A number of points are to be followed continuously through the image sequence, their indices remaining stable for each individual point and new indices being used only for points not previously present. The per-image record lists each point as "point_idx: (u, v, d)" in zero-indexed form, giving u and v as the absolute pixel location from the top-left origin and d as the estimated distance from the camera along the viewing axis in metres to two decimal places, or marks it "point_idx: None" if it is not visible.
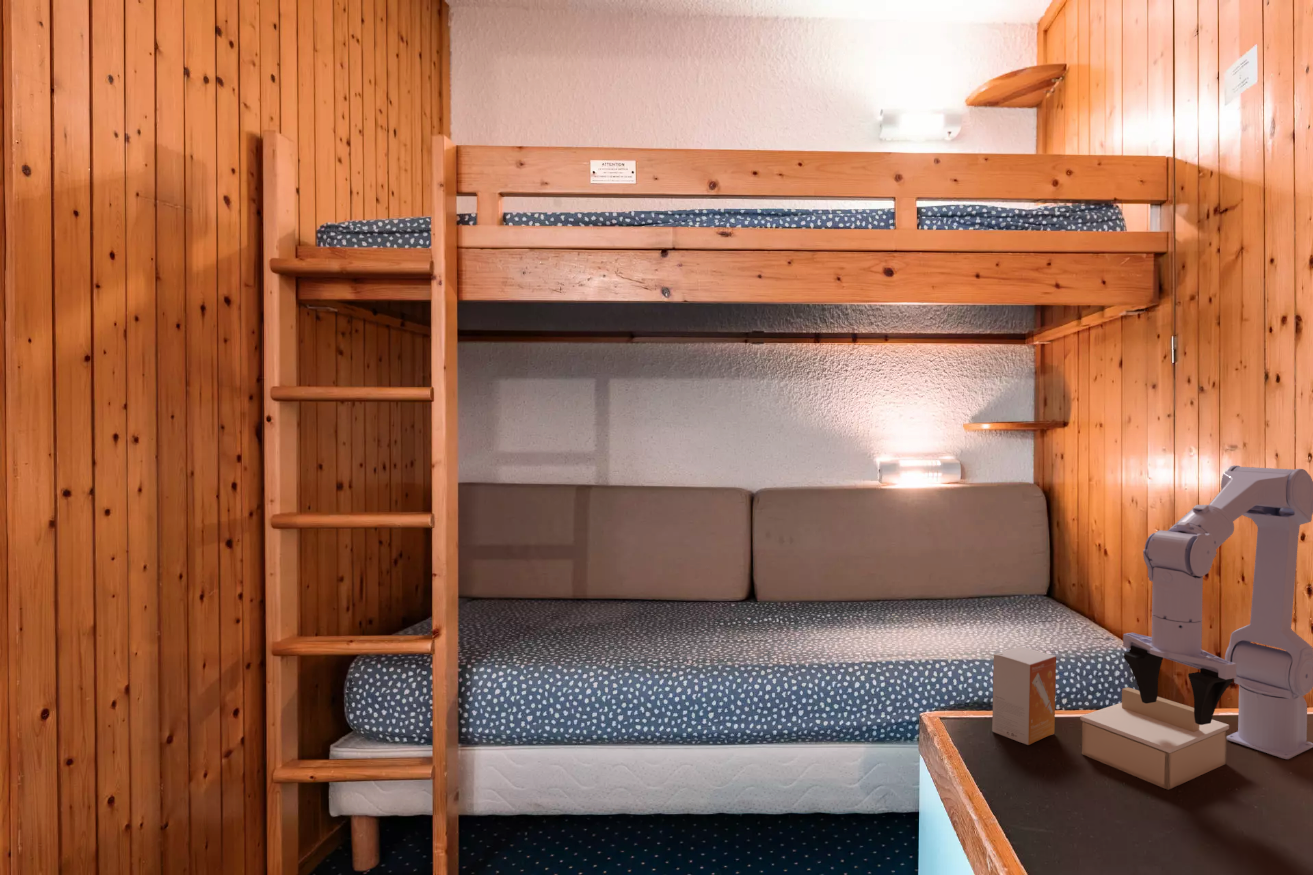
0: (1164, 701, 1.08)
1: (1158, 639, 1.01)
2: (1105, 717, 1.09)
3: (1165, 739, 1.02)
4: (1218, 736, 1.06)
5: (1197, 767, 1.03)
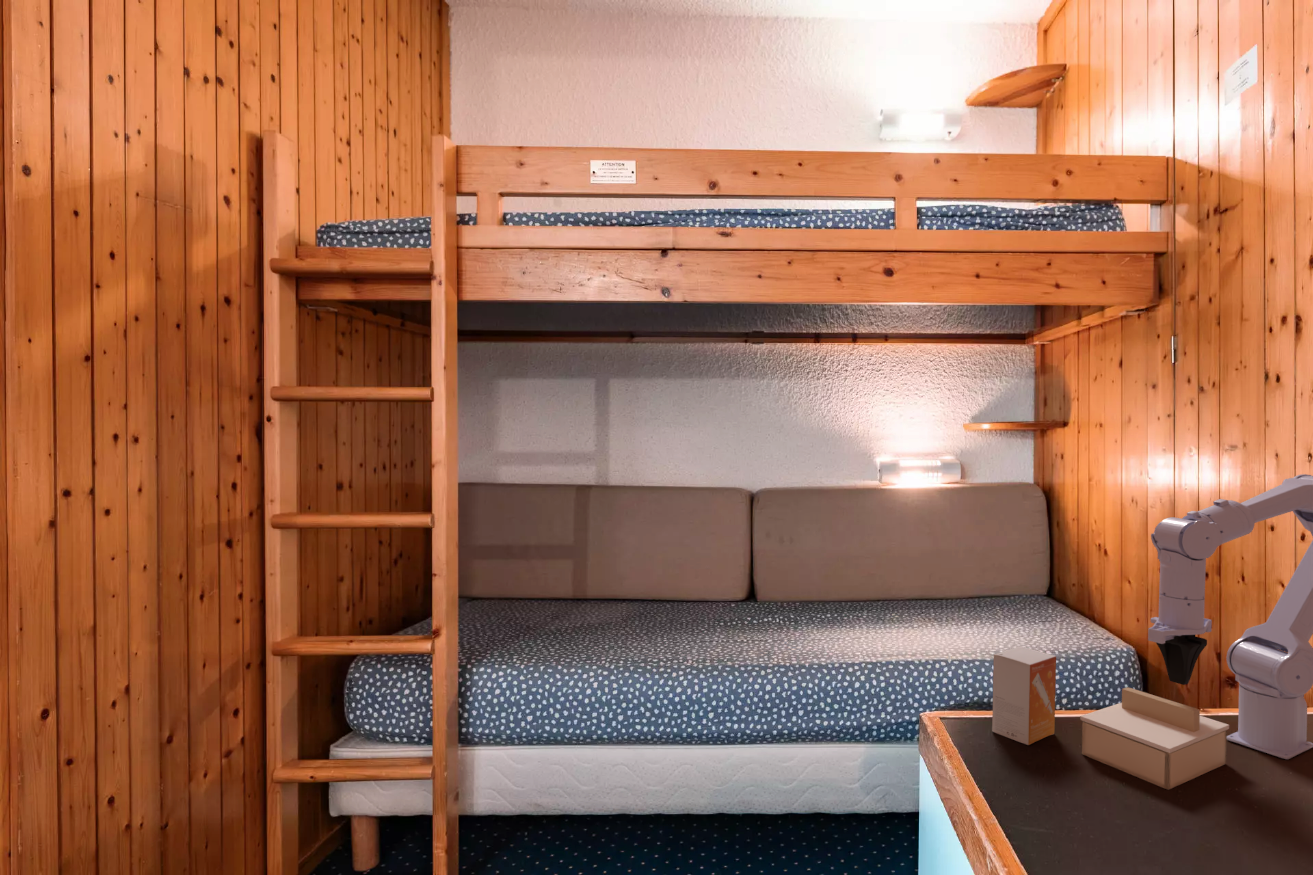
0: (1164, 701, 1.08)
1: None
2: (1105, 717, 1.09)
3: (1165, 739, 1.02)
4: (1218, 736, 1.06)
5: (1197, 767, 1.03)
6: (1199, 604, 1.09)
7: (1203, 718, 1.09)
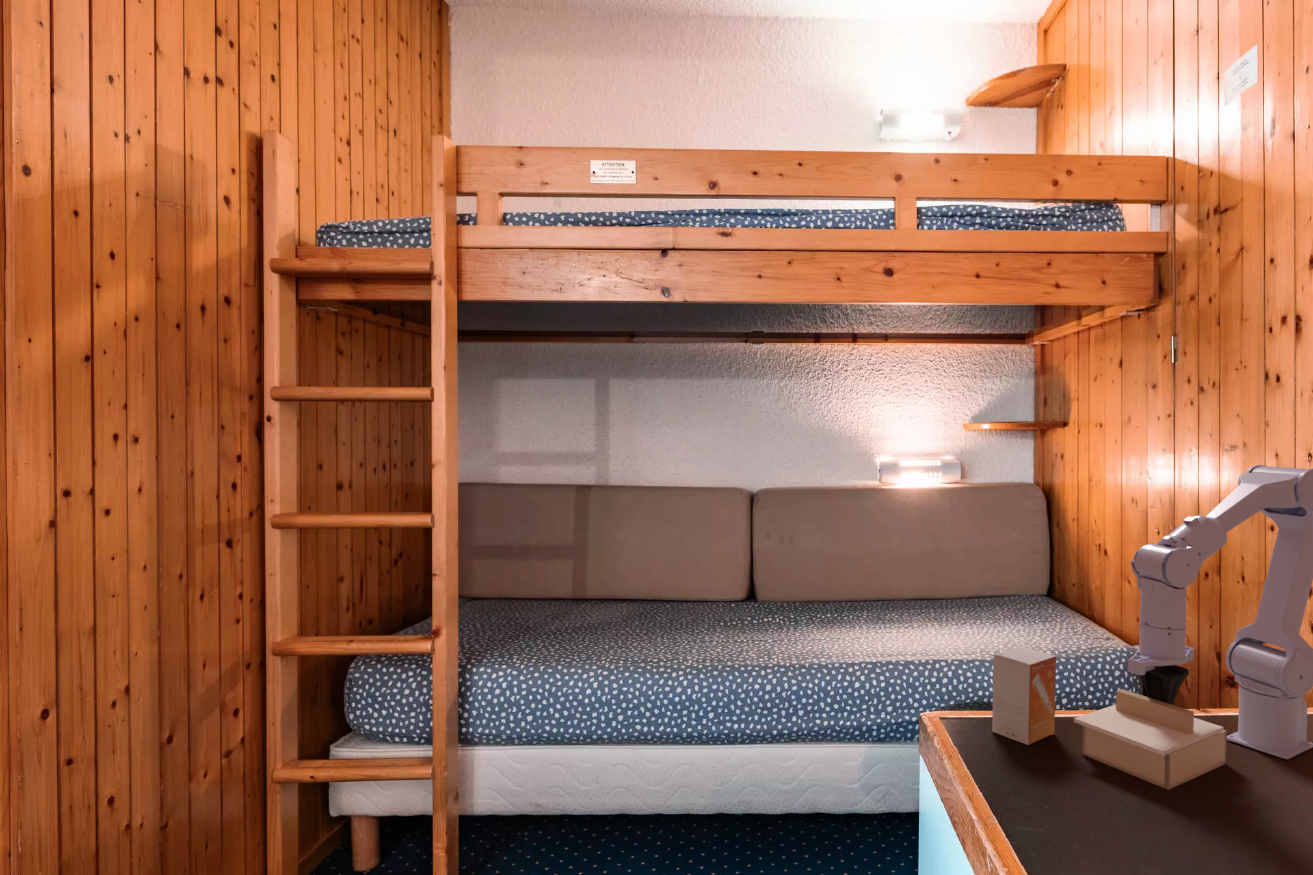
0: (1158, 703, 1.07)
1: None
2: (1098, 719, 1.09)
3: (1159, 741, 1.01)
4: (1218, 736, 1.06)
5: (1197, 767, 1.03)
6: (1180, 634, 1.06)
7: (1197, 720, 1.08)
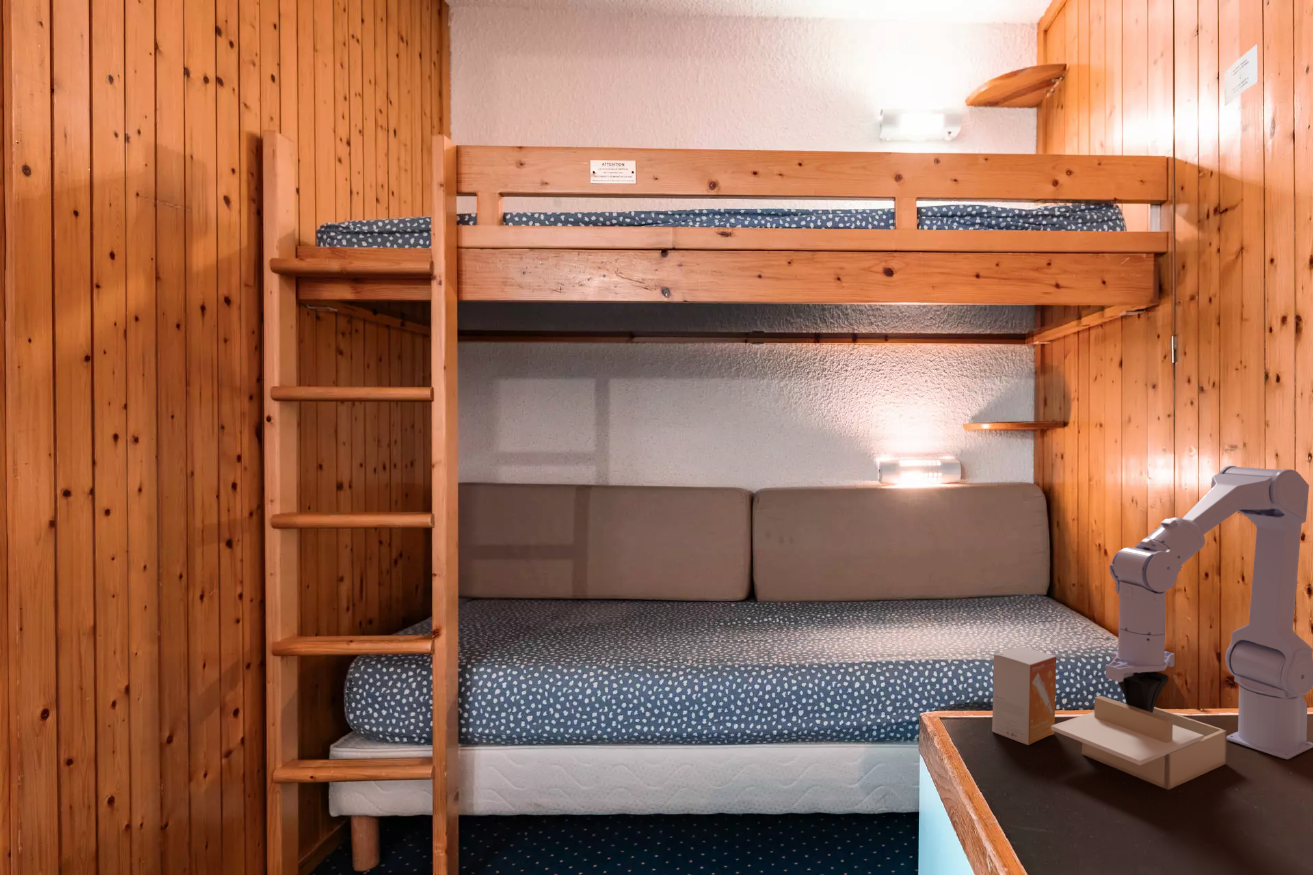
0: (1137, 710, 1.04)
1: None
2: (1076, 726, 1.06)
3: (1136, 750, 0.98)
4: (1218, 736, 1.06)
5: (1197, 767, 1.03)
6: (1159, 639, 1.03)
7: (1177, 728, 1.05)
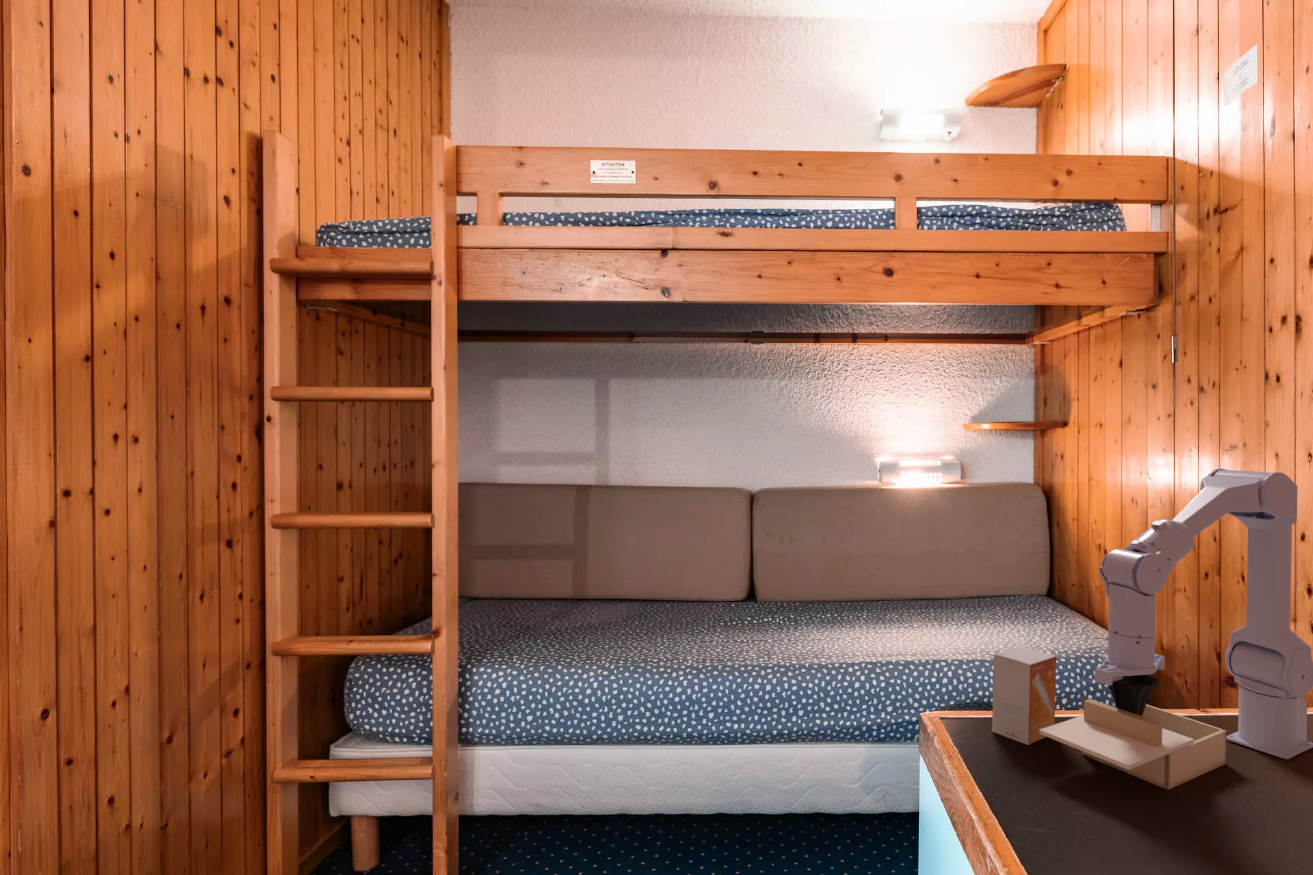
0: (1126, 714, 1.03)
1: None
2: (1065, 730, 1.05)
3: (1125, 755, 0.97)
4: (1218, 736, 1.06)
5: (1197, 767, 1.03)
6: (1148, 642, 1.02)
7: (1167, 732, 1.04)
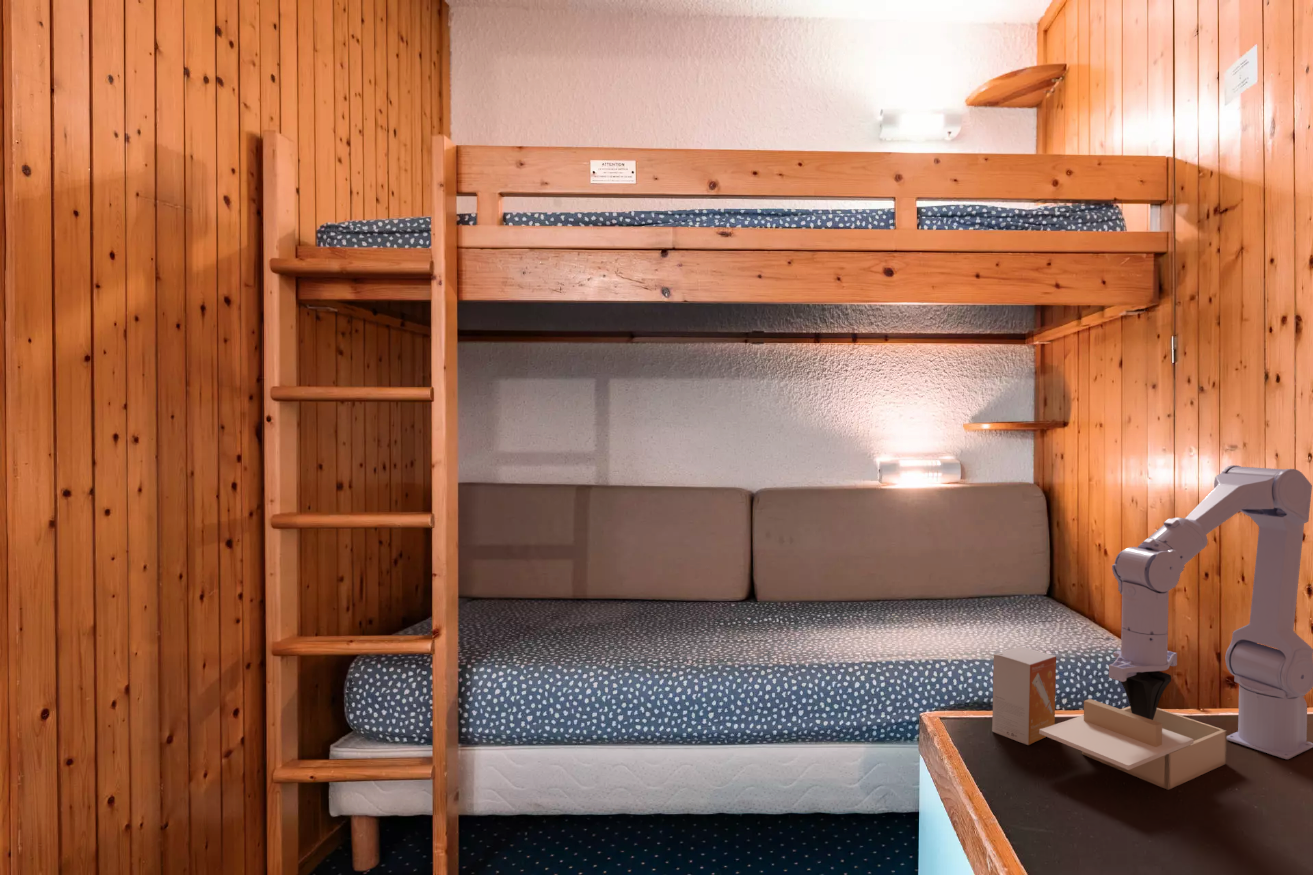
0: (1126, 714, 1.03)
1: None
2: (1064, 730, 1.05)
3: (1125, 755, 0.97)
4: (1218, 736, 1.06)
5: (1197, 767, 1.03)
6: (1162, 639, 1.04)
7: (1167, 732, 1.04)
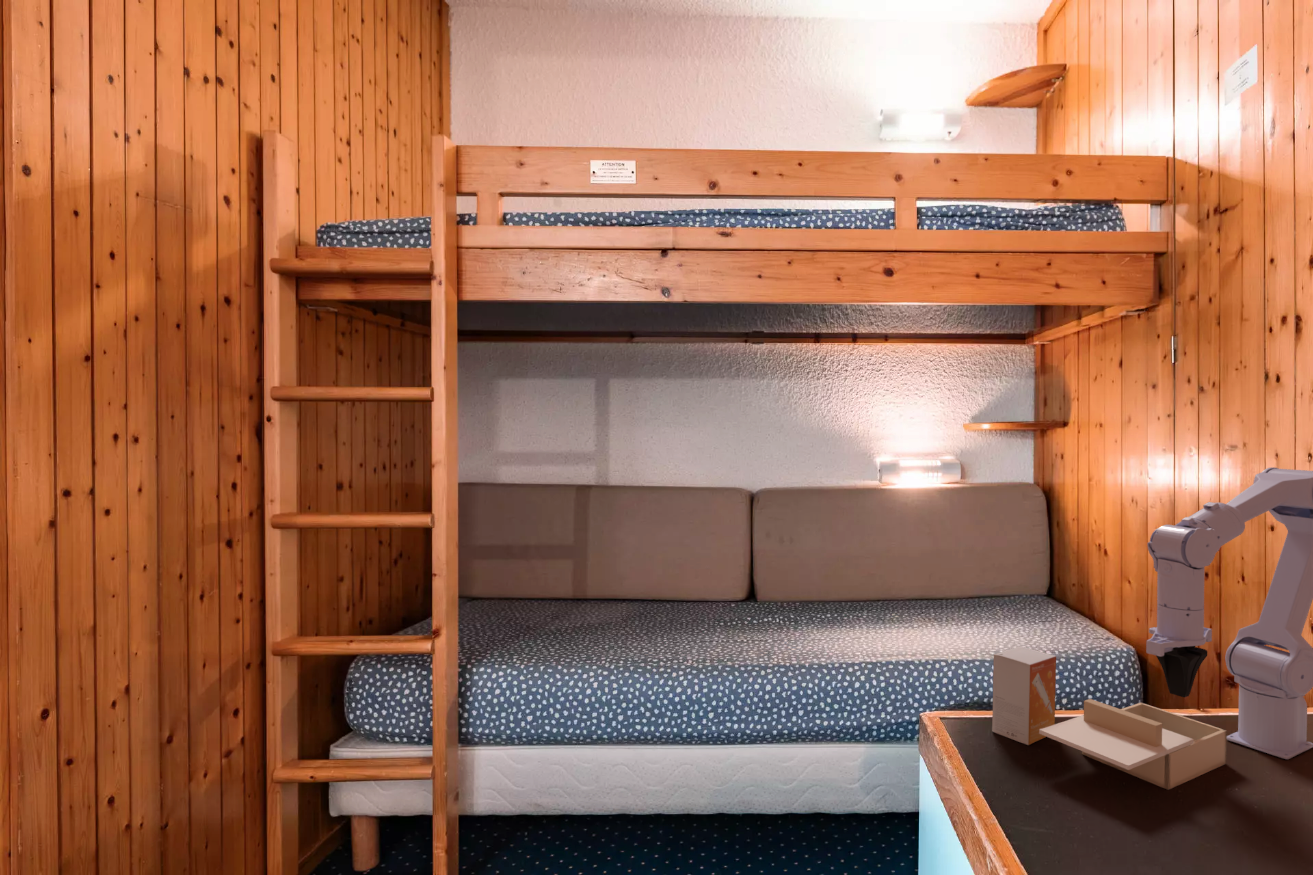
0: (1126, 714, 1.03)
1: None
2: (1064, 730, 1.05)
3: (1125, 755, 0.97)
4: (1218, 736, 1.06)
5: (1197, 767, 1.03)
6: (1198, 614, 1.05)
7: (1167, 732, 1.04)
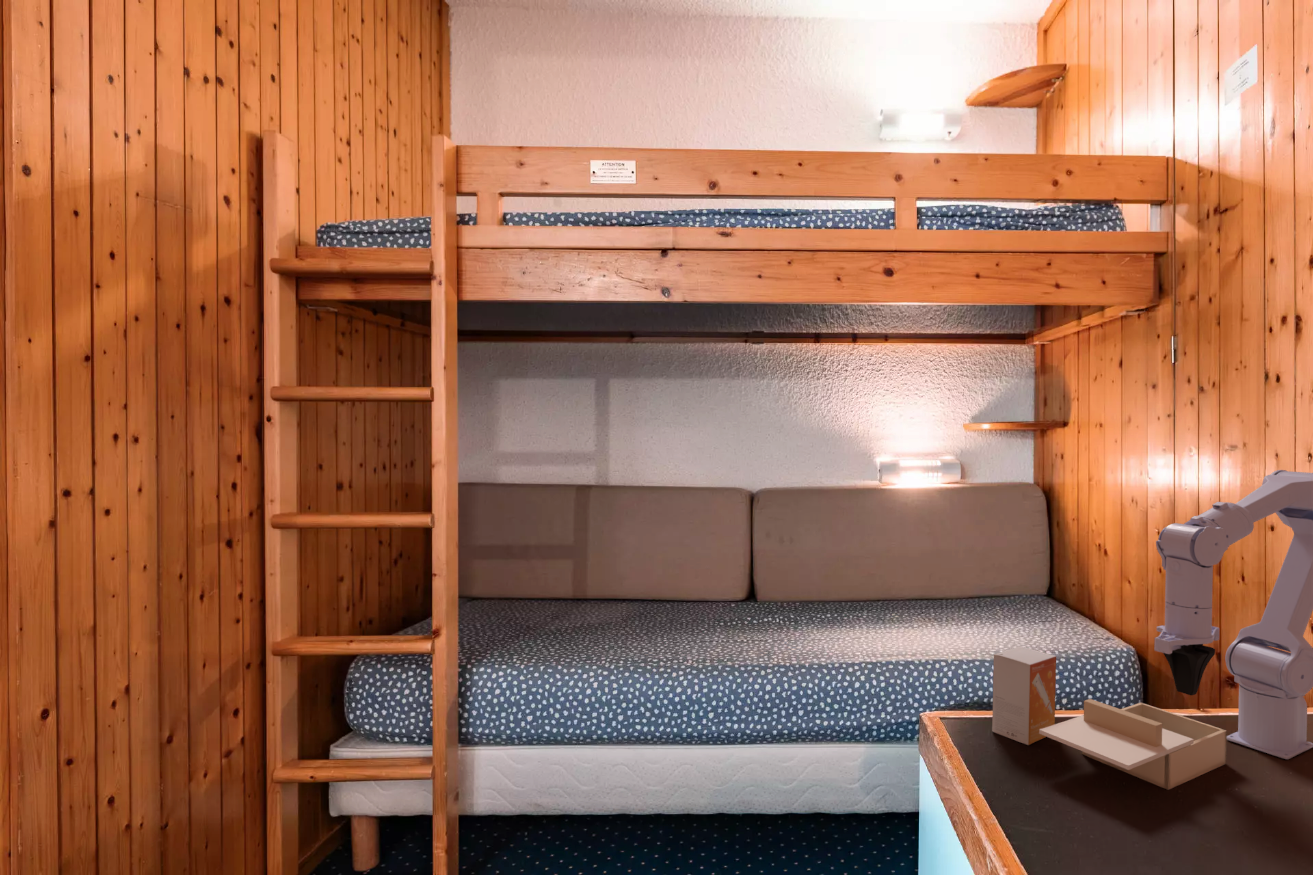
0: (1126, 714, 1.03)
1: None
2: (1064, 730, 1.05)
3: (1125, 755, 0.97)
4: (1218, 736, 1.06)
5: (1197, 767, 1.03)
6: (1206, 612, 1.06)
7: (1167, 732, 1.04)
